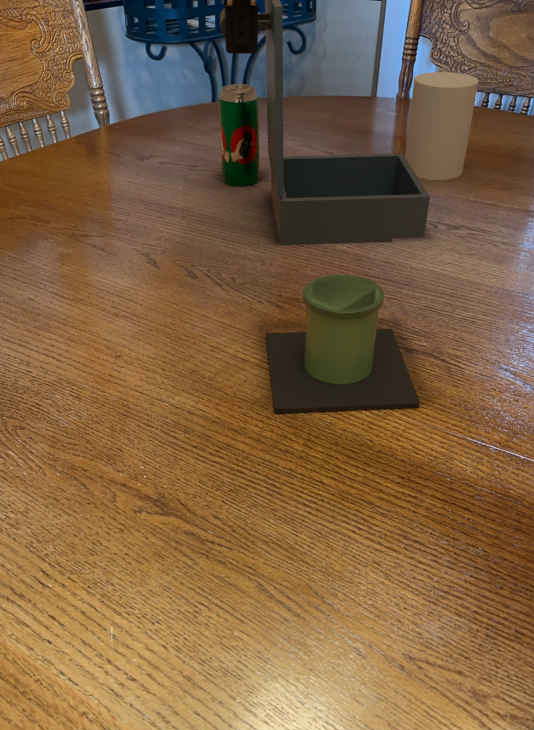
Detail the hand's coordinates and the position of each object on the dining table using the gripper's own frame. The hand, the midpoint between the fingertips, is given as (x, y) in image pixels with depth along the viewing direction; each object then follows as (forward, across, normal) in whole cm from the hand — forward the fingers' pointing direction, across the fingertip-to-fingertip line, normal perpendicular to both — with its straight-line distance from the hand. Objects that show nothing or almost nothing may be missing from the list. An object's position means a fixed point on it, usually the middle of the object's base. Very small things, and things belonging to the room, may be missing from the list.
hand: (240, 44), depth 72 cm
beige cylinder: (+19, +16, -27) cm, 37 cm away
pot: (+19, -32, -7) cm, 38 cm away
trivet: (+19, -32, -7) cm, 38 cm away
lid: (+4, 0, -4) cm, 6 cm away
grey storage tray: (+19, 0, -12) cm, 23 cm away
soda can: (+20, +14, 0) cm, 24 cm away
